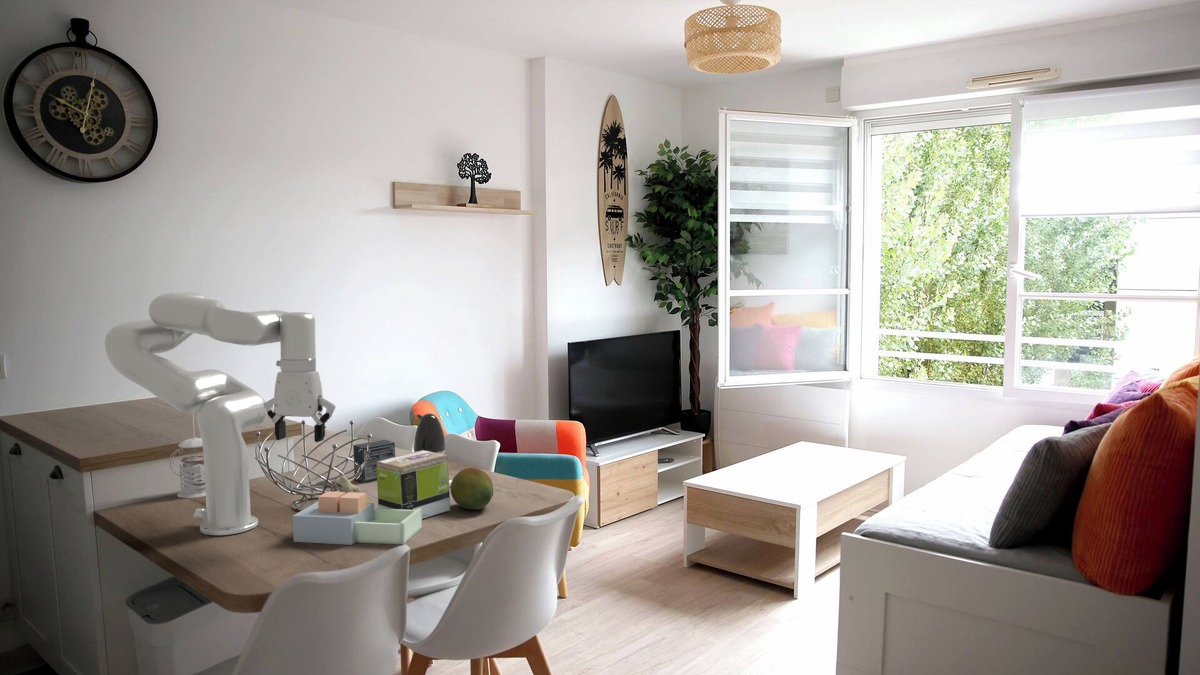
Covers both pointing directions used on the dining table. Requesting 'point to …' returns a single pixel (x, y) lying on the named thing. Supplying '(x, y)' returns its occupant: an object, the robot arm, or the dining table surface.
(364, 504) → the peach orange cube
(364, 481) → the small box
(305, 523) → the light blue drawer case
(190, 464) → the french press
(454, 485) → the fruit
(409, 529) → the bin
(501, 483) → the dining table surface
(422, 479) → the tea box
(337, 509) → the orange wooden cube
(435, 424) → the black rounded cone
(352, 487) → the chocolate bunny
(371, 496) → the dining table surface
